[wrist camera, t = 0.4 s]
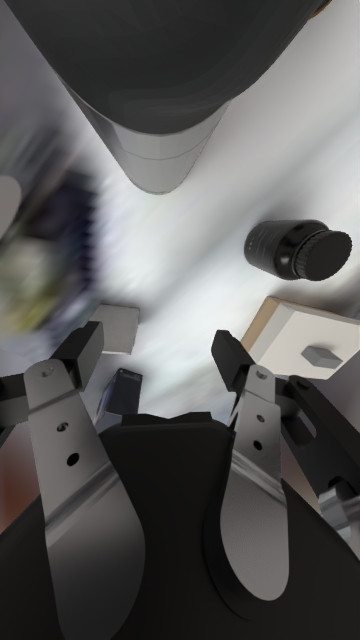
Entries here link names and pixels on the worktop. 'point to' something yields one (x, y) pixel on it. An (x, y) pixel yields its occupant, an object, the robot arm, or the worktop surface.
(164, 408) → the worktop surface
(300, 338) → the mailer lid
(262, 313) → the box
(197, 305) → the worktop surface
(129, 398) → the small box
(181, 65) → the robot arm
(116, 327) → the printed product carton
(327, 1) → the apothecary jar
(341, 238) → the supplement bottle
